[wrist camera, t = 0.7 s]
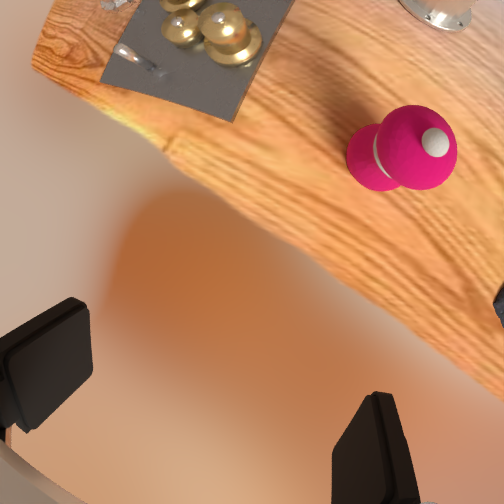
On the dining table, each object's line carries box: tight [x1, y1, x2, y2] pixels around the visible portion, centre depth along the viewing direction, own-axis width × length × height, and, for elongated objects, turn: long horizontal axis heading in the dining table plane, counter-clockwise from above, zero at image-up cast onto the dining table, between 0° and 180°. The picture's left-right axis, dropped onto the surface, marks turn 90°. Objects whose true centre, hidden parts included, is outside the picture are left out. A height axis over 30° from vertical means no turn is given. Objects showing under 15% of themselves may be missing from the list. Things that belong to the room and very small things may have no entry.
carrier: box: [100, 0, 295, 123], centre depth 28 cm, size 20×22×9 cm
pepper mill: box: [346, 105, 457, 191], centre depth 23 cm, size 7×7×20 cm
